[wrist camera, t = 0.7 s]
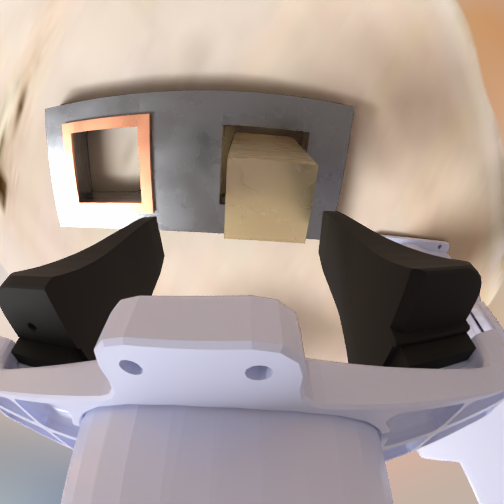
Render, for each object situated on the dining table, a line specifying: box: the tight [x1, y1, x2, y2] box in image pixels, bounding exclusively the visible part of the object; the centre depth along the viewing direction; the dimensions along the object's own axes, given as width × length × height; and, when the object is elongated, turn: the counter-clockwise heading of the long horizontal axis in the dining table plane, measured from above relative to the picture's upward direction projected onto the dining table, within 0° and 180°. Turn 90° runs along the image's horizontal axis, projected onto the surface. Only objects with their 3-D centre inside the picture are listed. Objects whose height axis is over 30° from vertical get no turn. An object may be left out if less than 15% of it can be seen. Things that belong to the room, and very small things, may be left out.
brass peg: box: [224, 132, 318, 243], centre depth 16 cm, size 4×4×8 cm
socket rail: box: [45, 90, 354, 240], centre depth 18 cm, size 22×10×2 cm, turn 86°
